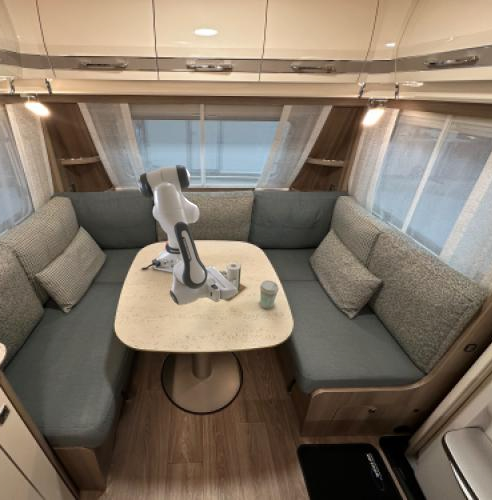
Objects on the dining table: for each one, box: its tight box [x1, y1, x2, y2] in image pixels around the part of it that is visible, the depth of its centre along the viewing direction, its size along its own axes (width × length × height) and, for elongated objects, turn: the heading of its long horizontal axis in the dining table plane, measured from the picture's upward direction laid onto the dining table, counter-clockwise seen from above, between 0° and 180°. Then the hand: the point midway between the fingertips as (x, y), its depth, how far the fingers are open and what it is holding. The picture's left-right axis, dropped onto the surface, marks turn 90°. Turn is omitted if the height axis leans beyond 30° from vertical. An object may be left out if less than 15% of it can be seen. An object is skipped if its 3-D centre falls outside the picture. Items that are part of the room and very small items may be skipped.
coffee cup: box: [259, 280, 280, 310], centre depth 127 cm, size 9×8×12 cm
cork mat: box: [223, 275, 246, 301], centre depth 142 cm, size 18×14×1 cm
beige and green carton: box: [226, 261, 242, 295], centre depth 123 cm, size 6×6×14 cm
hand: (232, 276), depth 122 cm, fingers closed on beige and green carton, 6 cm apart
